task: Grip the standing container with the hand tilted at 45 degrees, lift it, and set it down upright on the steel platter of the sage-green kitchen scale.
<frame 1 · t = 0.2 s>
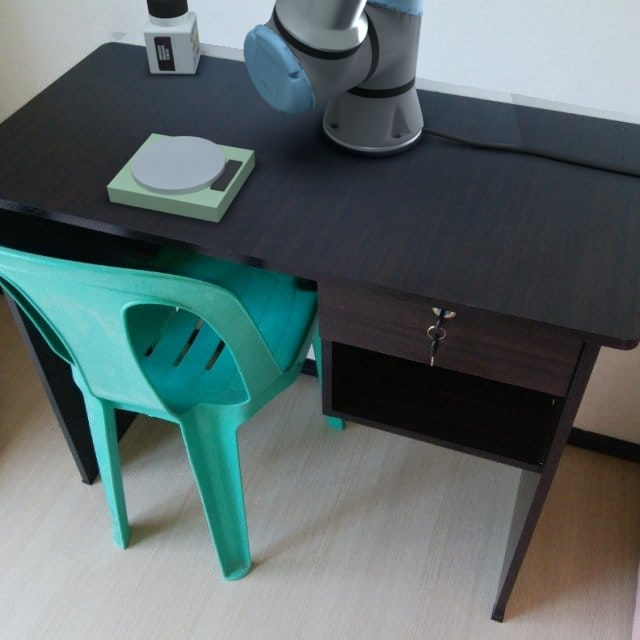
container: (176, 65, 131), on the table
scale: (184, 183, 106), on the table
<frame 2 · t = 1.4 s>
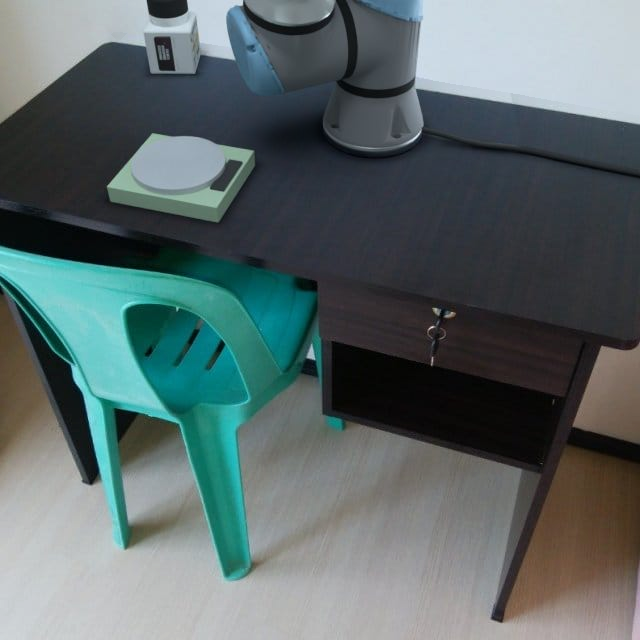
nothing on the table moved.
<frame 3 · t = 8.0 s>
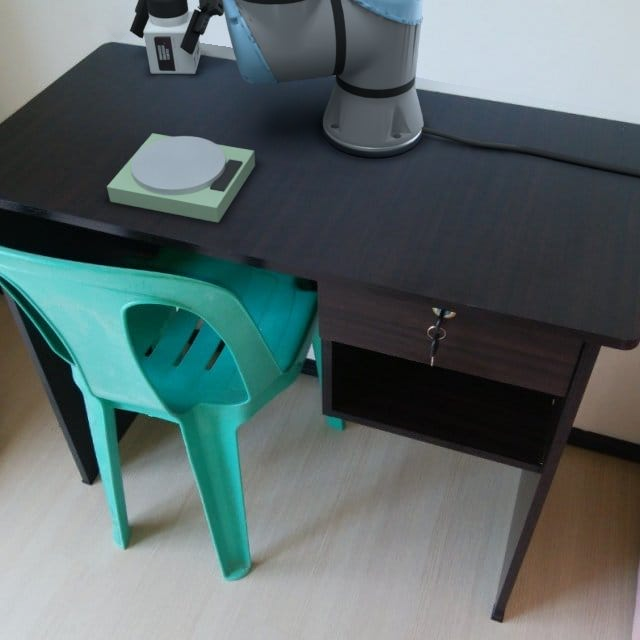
hand: (160, 42, 125), 5 cm above the table, tool tilted 45°, fingers closed on container, 10 cm apart
container: (176, 65, 131), on the table, touching gripper
when the fingers open (8 cm above the table, at t = 18.1 s): container stays where it is, resting on scale.
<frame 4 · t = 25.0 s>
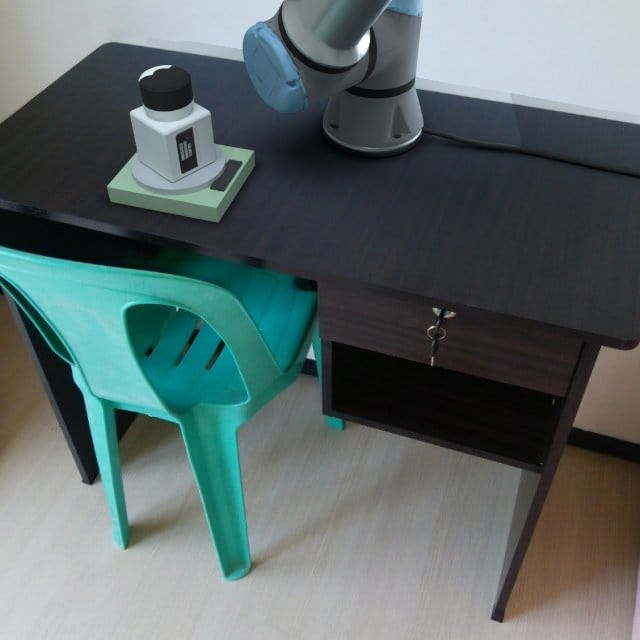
container: (178, 162, 104), point 3 cm above the table, touching scale
at the end: container inside the target area on the scale (0.1 cm from its centre), point 3.3 cm above the scale's base; container tilted 0°; the gripper is holding nothing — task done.
